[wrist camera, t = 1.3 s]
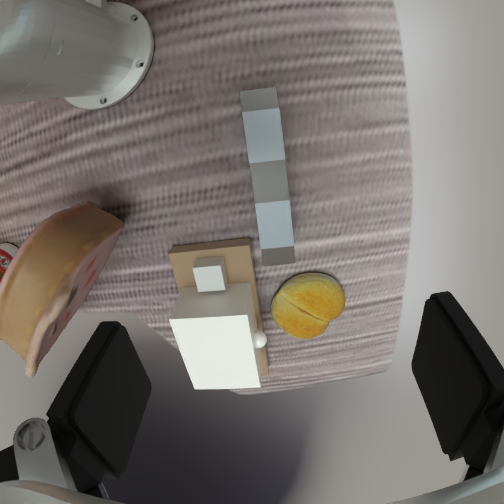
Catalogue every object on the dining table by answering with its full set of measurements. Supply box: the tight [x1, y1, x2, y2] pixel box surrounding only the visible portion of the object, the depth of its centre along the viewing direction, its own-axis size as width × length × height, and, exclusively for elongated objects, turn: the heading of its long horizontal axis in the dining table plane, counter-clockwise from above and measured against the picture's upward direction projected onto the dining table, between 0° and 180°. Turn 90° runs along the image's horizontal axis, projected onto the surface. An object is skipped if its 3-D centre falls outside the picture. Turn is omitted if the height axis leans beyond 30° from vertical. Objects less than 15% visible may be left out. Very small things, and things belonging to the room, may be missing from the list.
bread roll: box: [271, 273, 345, 339], centre depth 38 cm, size 8×9×4 cm
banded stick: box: [239, 87, 295, 266], centre depth 30 cm, size 16×3×6 cm, turn 8°
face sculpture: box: [0, 201, 124, 378], centre depth 30 cm, size 20×7×17 cm, turn 142°
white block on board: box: [169, 238, 269, 389], centre depth 37 cm, size 20×10×8 cm, turn 8°
